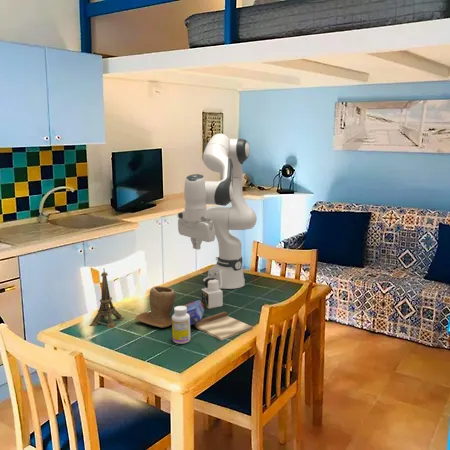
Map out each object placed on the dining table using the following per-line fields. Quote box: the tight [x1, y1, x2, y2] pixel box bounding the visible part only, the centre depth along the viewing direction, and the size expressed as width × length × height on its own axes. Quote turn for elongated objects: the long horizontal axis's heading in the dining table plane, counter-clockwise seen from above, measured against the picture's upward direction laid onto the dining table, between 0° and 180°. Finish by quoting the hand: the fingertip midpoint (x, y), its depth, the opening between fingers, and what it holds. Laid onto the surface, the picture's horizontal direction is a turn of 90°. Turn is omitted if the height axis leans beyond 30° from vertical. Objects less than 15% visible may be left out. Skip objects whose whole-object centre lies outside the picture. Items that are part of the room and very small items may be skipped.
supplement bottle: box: [171, 305, 191, 345], centre depth 185 cm, size 7×7×13 cm
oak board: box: [193, 311, 253, 341], centre depth 197 cm, size 16×16×2 cm
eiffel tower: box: [88, 269, 125, 329], centre depth 202 cm, size 11×11×25 cm
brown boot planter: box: [134, 285, 176, 329], centre depth 202 cm, size 15×12×15 cm
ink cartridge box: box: [183, 299, 205, 326], centre depth 199 cm, size 10×6×14 cm
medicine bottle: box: [201, 278, 224, 310], centre depth 221 cm, size 7×7×12 cm
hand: (196, 248), depth 204 cm, fingers closed
